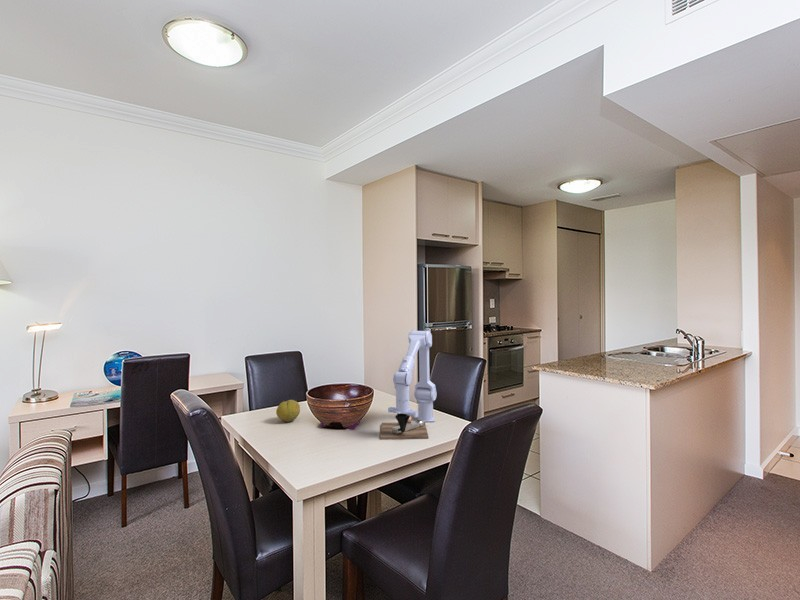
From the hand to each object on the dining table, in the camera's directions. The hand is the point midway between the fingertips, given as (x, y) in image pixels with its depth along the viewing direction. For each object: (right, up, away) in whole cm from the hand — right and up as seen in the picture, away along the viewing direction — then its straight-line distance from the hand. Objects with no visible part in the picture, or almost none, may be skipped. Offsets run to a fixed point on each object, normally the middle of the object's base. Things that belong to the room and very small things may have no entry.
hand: (403, 431), depth 176 cm
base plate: (0, -2, +6) cm, 6 cm away
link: (+3, -1, +6) cm, 6 cm away
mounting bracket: (-29, -3, +14) cm, 32 cm away
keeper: (+4, -1, +11) cm, 12 cm away
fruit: (-55, -3, +23) cm, 60 cm away
